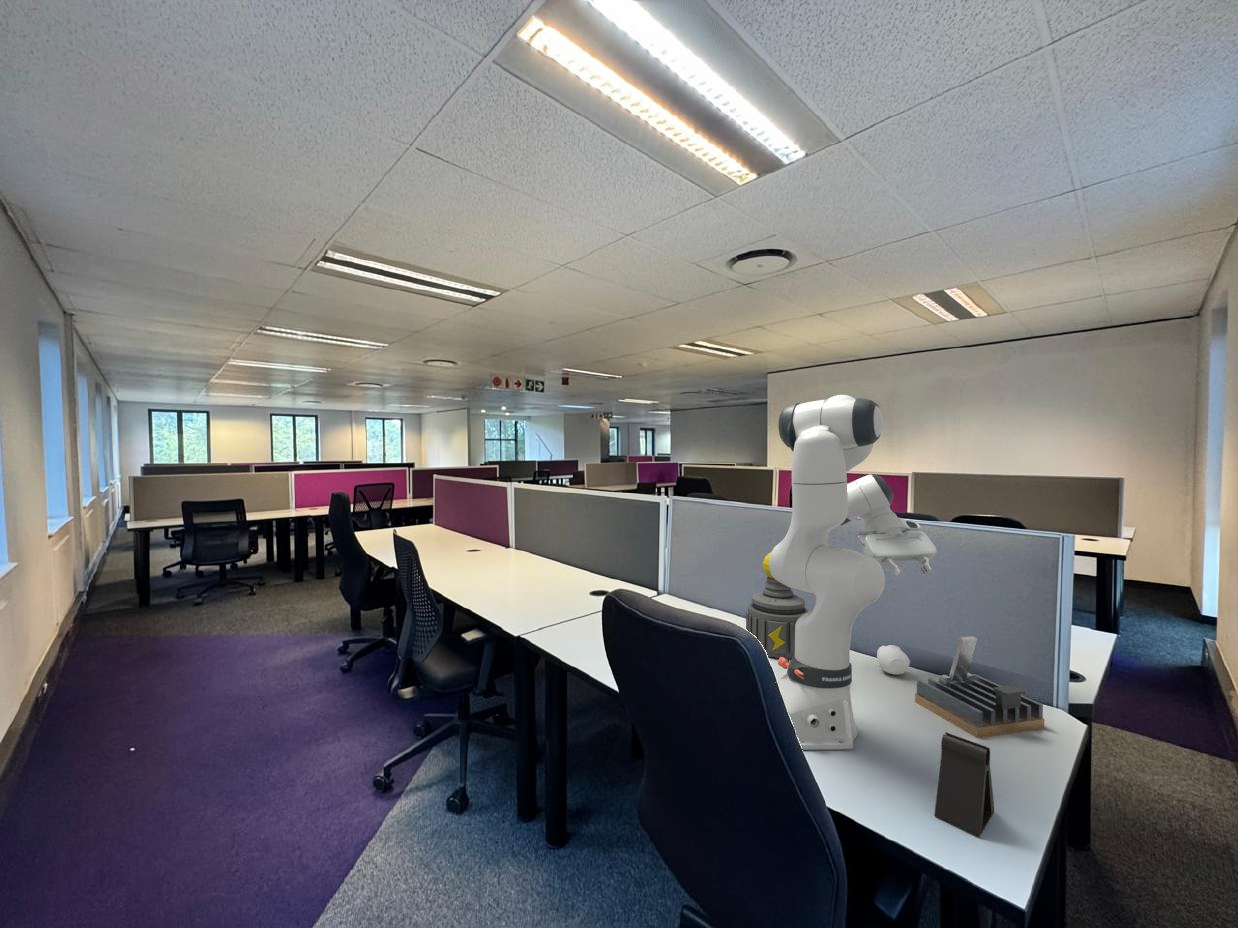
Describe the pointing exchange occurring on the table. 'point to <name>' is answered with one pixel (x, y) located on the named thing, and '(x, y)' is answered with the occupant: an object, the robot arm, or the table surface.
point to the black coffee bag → (964, 785)
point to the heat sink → (980, 705)
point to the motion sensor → (892, 659)
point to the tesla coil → (775, 616)
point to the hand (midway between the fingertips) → (914, 573)
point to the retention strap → (962, 658)
